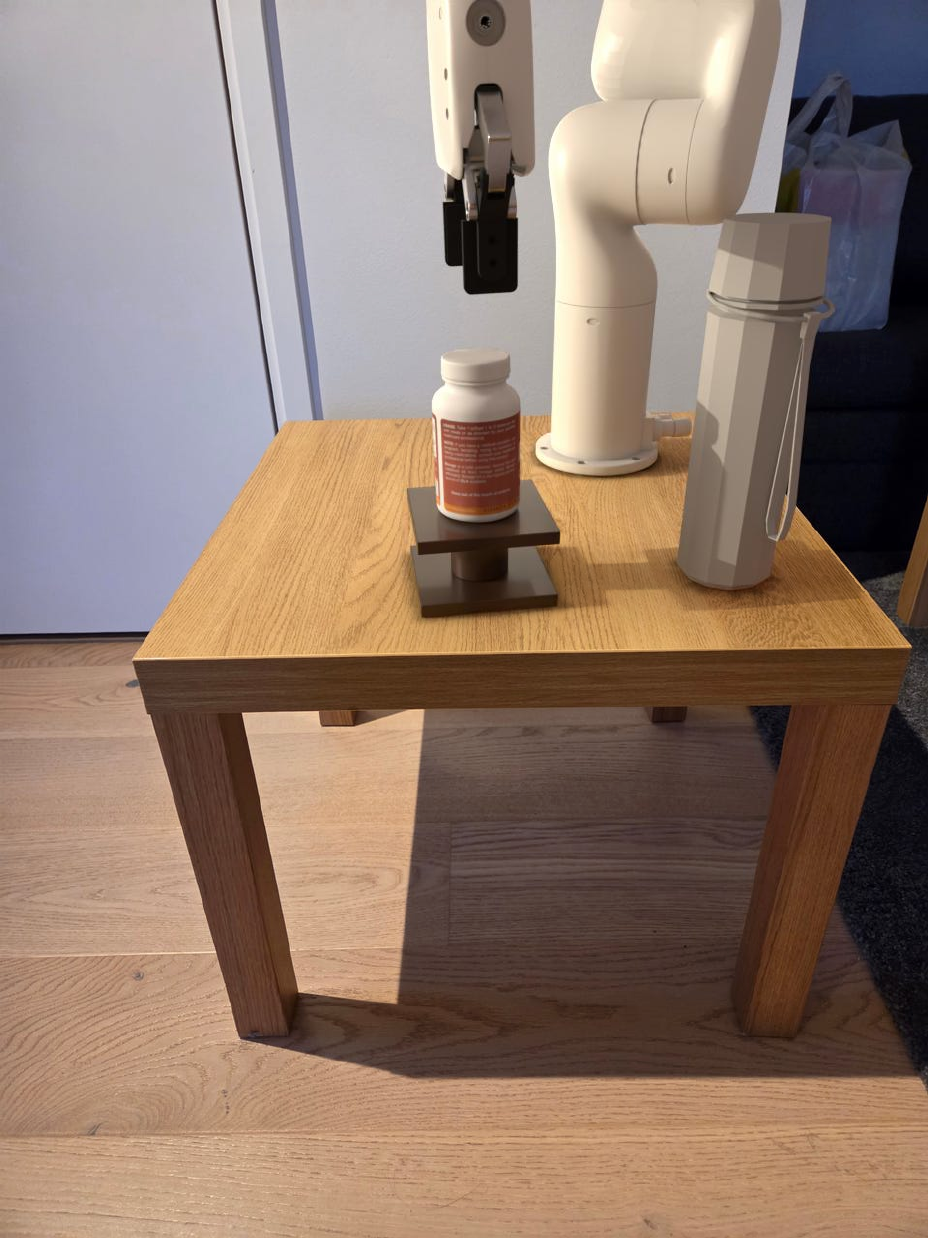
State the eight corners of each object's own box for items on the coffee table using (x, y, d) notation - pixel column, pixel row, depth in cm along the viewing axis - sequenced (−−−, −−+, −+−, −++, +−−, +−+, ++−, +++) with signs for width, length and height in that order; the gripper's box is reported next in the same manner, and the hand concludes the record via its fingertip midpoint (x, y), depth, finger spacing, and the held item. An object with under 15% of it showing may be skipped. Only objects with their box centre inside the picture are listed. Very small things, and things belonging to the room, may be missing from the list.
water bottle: (652, 564, 67) (689, 216, 54) (731, 544, 70) (784, 208, 57) (729, 617, 60) (793, 230, 47) (814, 592, 62) (896, 221, 50)
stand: (530, 546, 70) (531, 478, 67) (557, 606, 62) (560, 531, 58) (410, 556, 69) (406, 487, 66) (421, 618, 60) (417, 542, 57)
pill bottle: (537, 511, 61) (540, 356, 56) (466, 533, 59) (463, 372, 53) (488, 485, 66) (487, 340, 60) (420, 504, 63) (412, 353, 57)
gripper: (579, -92, 38) (567, 301, 47) (511, -41, 53) (511, 253, 62) (415, -90, 38) (434, 310, 47) (392, -38, 52) (410, 259, 61)
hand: (478, 277), depth 54 cm, fingers open, 9 cm apart
